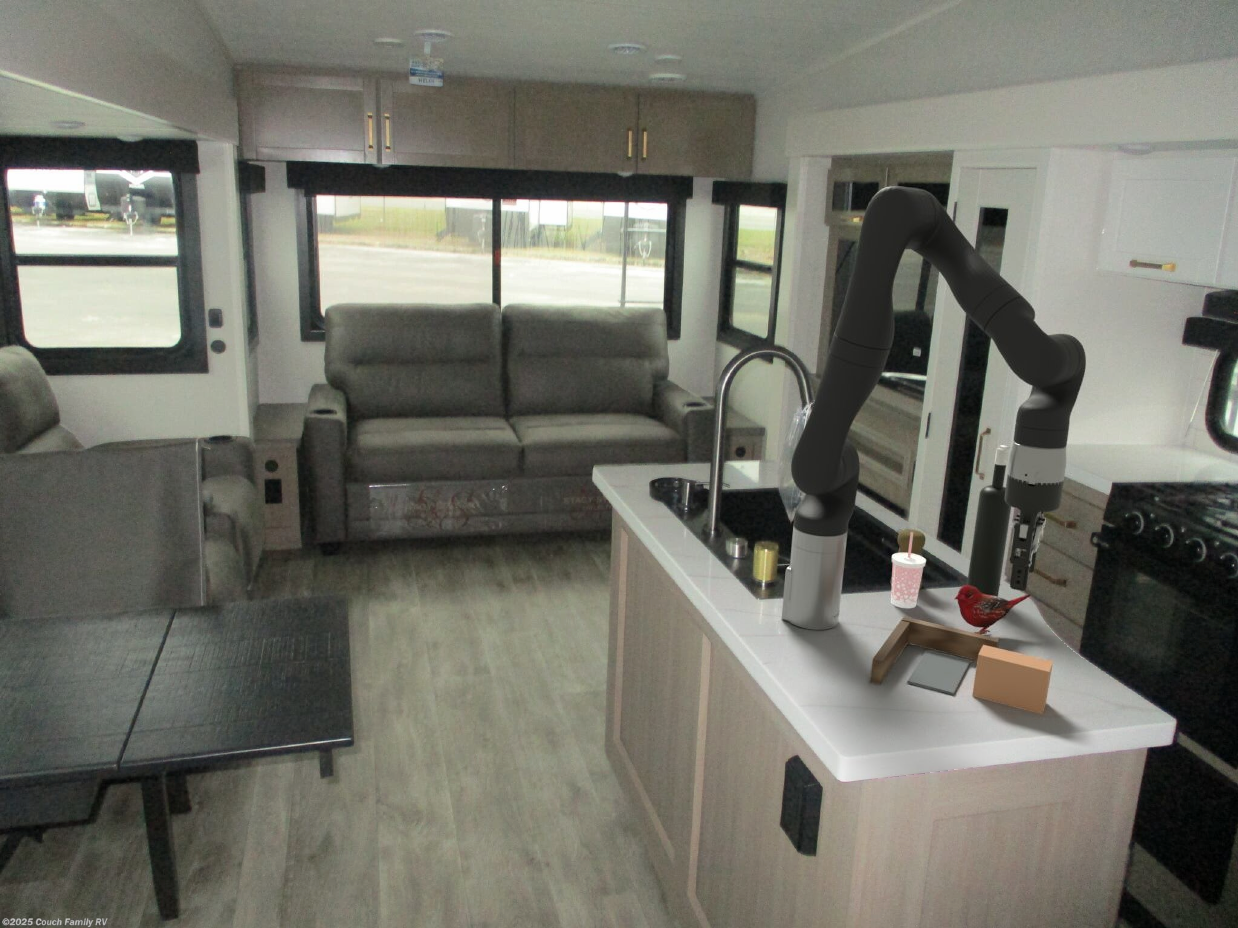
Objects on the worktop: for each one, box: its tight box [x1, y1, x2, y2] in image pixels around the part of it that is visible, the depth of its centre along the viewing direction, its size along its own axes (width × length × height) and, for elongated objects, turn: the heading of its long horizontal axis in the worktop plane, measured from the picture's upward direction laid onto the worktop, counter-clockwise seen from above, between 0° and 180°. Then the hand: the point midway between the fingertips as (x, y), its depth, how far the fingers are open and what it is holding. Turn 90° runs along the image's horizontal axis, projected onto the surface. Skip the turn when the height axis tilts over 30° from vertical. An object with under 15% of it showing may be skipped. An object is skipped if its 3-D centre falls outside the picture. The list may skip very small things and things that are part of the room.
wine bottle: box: [966, 444, 1012, 597], centre depth 183 cm, size 6×6×30 cm
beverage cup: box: [890, 532, 927, 609], centre depth 181 cm, size 6×6×14 cm
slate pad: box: [907, 649, 971, 696], centre depth 157 cm, size 7×13×1 cm, turn 150°
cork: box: [889, 528, 926, 590], centre depth 191 cm, size 6×6×11 cm
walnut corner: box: [869, 616, 1000, 685], centre depth 156 cm, size 16×19×4 cm
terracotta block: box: [971, 645, 1054, 715], centre depth 148 cm, size 10×4×7 cm, turn 60°
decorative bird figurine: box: [954, 584, 1031, 635], centre depth 170 cm, size 3×18×10 cm, turn 114°
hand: (1022, 580), depth 145 cm, fingers open, 8 cm apart
